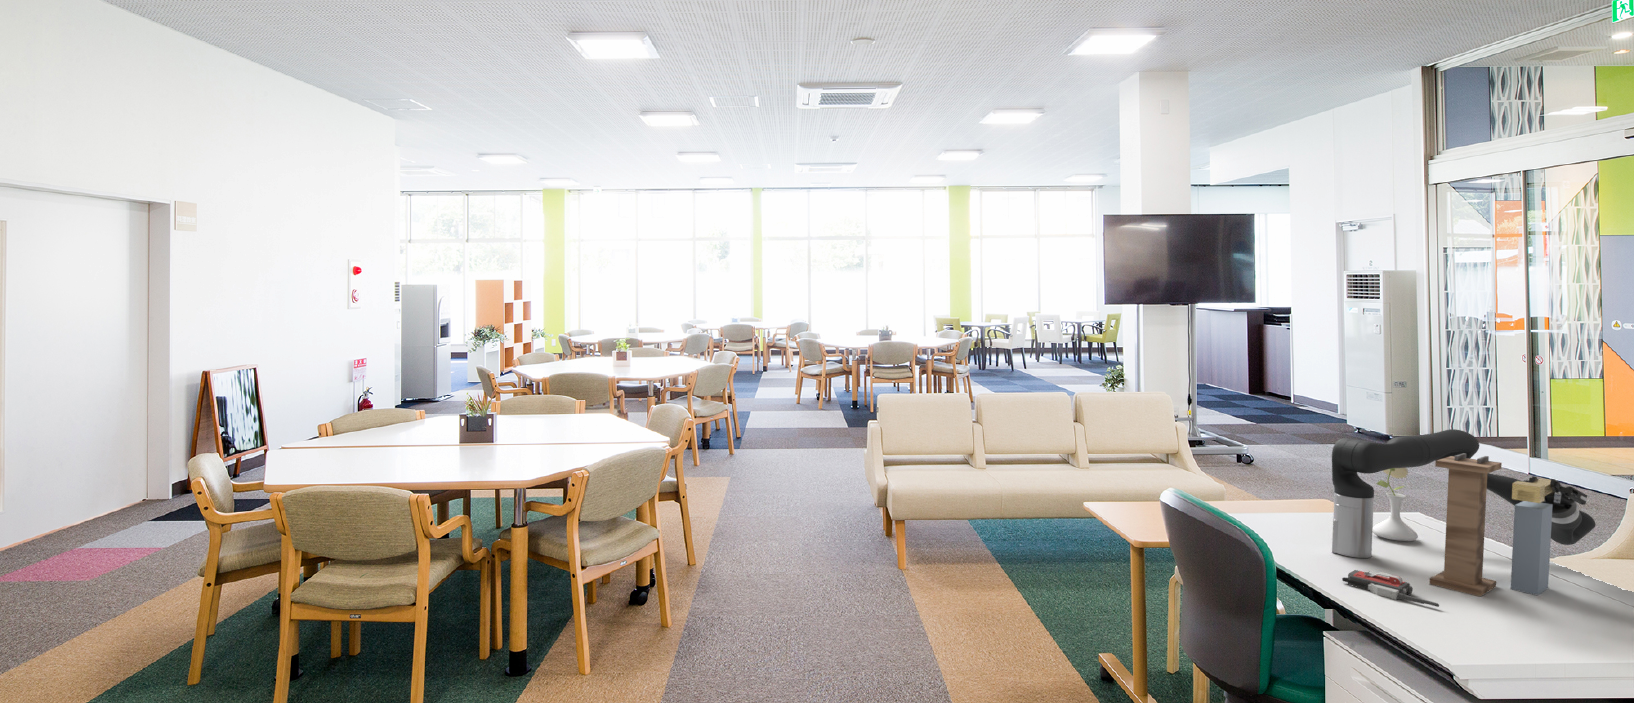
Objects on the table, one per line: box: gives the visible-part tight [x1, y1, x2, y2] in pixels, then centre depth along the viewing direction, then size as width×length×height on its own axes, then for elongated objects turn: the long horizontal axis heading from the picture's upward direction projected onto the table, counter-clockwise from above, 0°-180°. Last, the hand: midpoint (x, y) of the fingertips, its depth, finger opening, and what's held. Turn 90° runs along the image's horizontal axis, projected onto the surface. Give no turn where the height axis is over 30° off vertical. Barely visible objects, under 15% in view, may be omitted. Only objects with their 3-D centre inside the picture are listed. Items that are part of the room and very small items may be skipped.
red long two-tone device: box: [1341, 569, 1440, 608], centre depth 180 cm, size 9×4×20 cm
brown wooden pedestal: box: [1429, 453, 1502, 597], centre depth 185 cm, size 12×10×33 cm
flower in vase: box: [1372, 468, 1419, 542], centre depth 225 cm, size 13×11×25 cm
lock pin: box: [1512, 478, 1558, 503], centre depth 184 cm, size 20×5×4 cm, turn 123°
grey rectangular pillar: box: [1510, 501, 1553, 596], centre depth 183 cm, size 9×5×22 cm, turn 123°
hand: (1543, 481), depth 186 cm, fingers closed on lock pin, 3 cm apart
